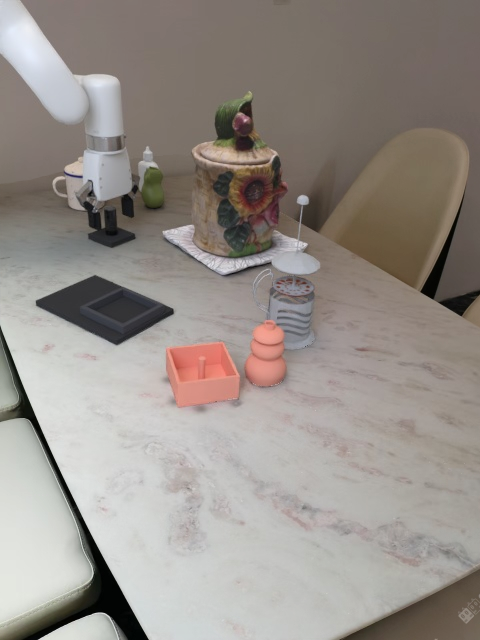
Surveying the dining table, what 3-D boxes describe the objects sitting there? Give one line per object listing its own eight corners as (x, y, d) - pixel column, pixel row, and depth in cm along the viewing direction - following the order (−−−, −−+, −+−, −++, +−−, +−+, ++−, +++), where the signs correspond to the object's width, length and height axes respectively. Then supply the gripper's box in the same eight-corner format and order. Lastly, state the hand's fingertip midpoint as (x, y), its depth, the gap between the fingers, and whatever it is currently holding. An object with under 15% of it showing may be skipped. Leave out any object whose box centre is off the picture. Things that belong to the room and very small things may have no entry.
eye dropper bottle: (153, 188, 162) (152, 143, 155) (160, 195, 158) (159, 149, 151) (138, 190, 160) (136, 144, 153) (144, 197, 156) (142, 150, 149)
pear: (156, 202, 154) (155, 162, 148) (168, 208, 151) (168, 168, 145) (138, 205, 150) (136, 166, 145) (149, 212, 147) (148, 172, 142)
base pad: (35, 305, 106) (33, 293, 105) (95, 279, 116) (94, 267, 115) (117, 345, 98) (116, 332, 96) (173, 313, 108) (173, 301, 106)
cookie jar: (157, 237, 135) (153, 84, 117) (241, 218, 149) (249, 79, 131) (224, 280, 120) (232, 112, 102) (310, 253, 135) (330, 102, 117)
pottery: (177, 407, 86) (177, 350, 80) (166, 370, 93) (165, 315, 88) (294, 391, 91) (301, 337, 86) (275, 357, 99) (280, 305, 93)
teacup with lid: (102, 198, 153) (98, 151, 146) (108, 210, 146) (105, 162, 140) (53, 200, 149) (47, 153, 142) (57, 213, 142) (51, 164, 135)
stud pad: (88, 238, 132) (85, 208, 128) (112, 229, 137) (110, 200, 133) (111, 248, 129) (109, 216, 125) (135, 238, 134) (133, 208, 130)
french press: (321, 349, 102) (342, 207, 88) (254, 350, 100) (265, 206, 86) (308, 319, 110) (326, 185, 96) (246, 320, 108) (255, 183, 94)
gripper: (123, 131, 129) (128, 207, 138) (58, 146, 116) (69, 229, 126) (149, 138, 126) (152, 216, 135) (85, 154, 113) (94, 238, 123)
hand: (112, 222), depth 131 cm, fingers open, 9 cm apart
